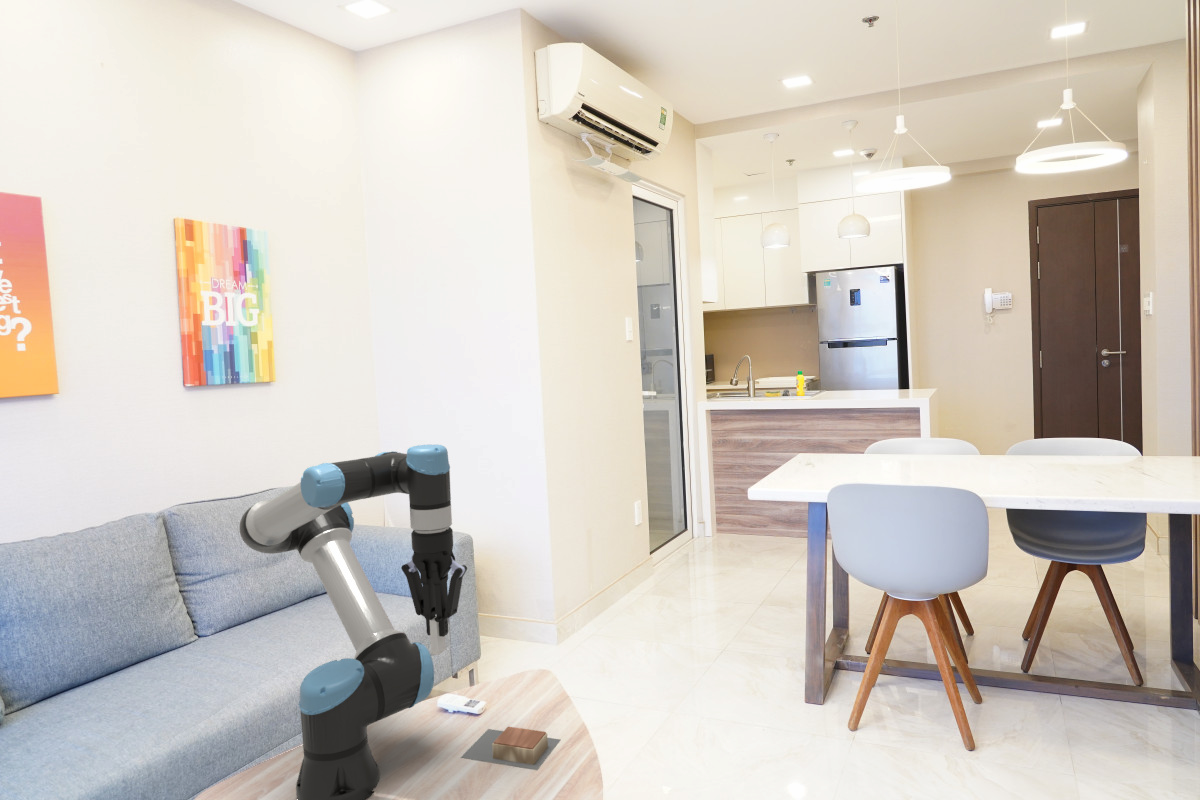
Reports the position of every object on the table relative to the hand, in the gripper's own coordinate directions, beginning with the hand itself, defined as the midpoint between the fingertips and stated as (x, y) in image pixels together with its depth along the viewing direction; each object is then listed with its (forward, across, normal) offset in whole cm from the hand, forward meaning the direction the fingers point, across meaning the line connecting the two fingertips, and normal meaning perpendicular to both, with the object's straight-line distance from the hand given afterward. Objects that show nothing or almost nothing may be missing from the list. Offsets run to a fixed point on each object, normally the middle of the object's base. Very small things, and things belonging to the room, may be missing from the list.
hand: (438, 651), depth 145 cm
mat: (+26, -6, -15) cm, 31 cm away
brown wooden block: (+24, -4, -14) cm, 28 cm away
